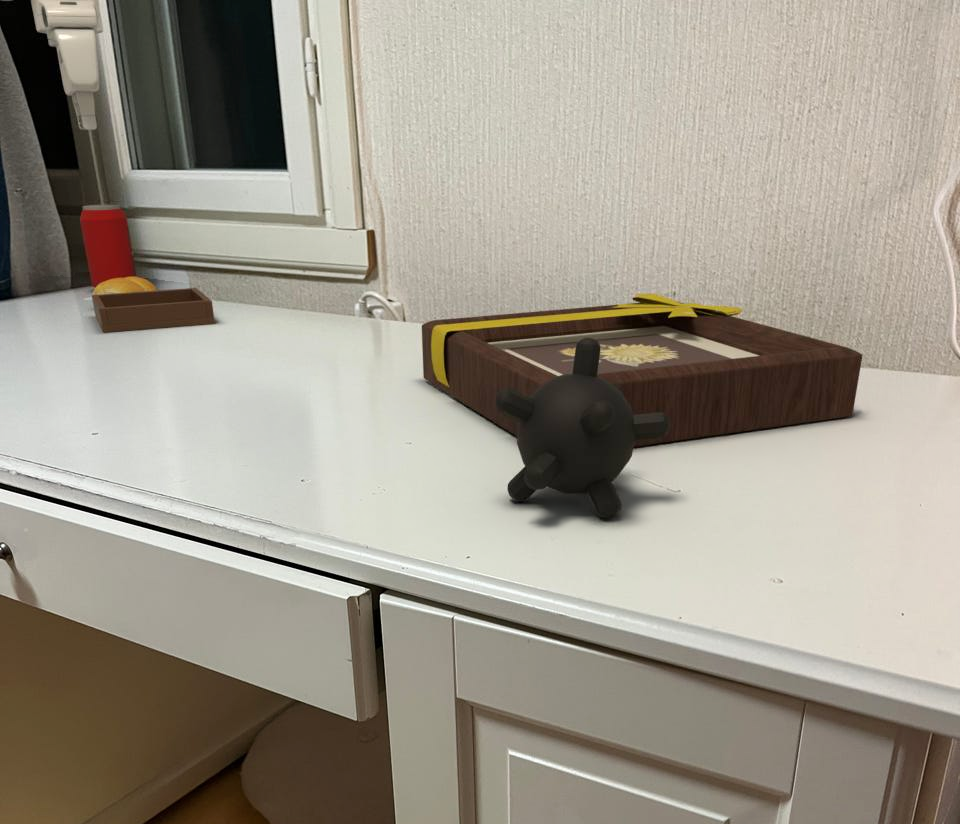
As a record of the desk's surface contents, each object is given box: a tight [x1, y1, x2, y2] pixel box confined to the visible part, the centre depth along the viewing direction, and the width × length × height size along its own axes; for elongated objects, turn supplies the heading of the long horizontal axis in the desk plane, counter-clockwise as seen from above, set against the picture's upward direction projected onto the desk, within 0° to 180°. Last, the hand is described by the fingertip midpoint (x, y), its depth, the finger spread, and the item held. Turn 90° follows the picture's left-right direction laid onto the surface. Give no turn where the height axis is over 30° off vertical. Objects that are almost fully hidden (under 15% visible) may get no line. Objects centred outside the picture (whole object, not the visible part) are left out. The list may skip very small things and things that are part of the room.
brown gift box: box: [421, 293, 863, 448], centre depth 88 cm, size 28×7×30 cm
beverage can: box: [79, 204, 137, 288], centre depth 151 cm, size 7×7×12 cm
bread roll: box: [91, 276, 158, 303], centre depth 138 cm, size 8×9×4 cm
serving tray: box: [91, 287, 216, 333], centre depth 128 cm, size 14×13×3 cm
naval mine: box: [494, 338, 670, 519], centre depth 63 cm, size 11×11×12 cm
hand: (88, 129), depth 143 cm, fingers open, 8 cm apart
